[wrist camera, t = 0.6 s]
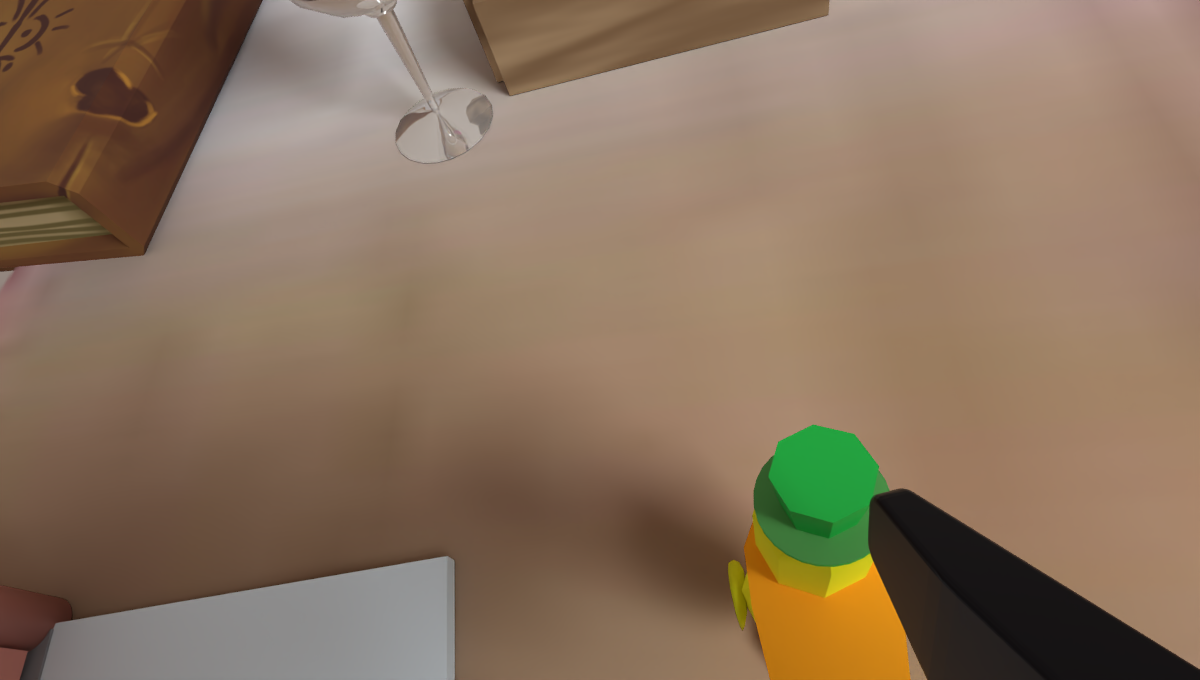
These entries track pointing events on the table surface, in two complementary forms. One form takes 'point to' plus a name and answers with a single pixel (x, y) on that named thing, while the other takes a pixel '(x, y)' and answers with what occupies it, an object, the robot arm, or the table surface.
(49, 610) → the fence fixed panel
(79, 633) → the card
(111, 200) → the diary
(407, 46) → the wineglass
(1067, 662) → the robot arm
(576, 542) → the table surface
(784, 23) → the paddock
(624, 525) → the table surface
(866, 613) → the toy figure
